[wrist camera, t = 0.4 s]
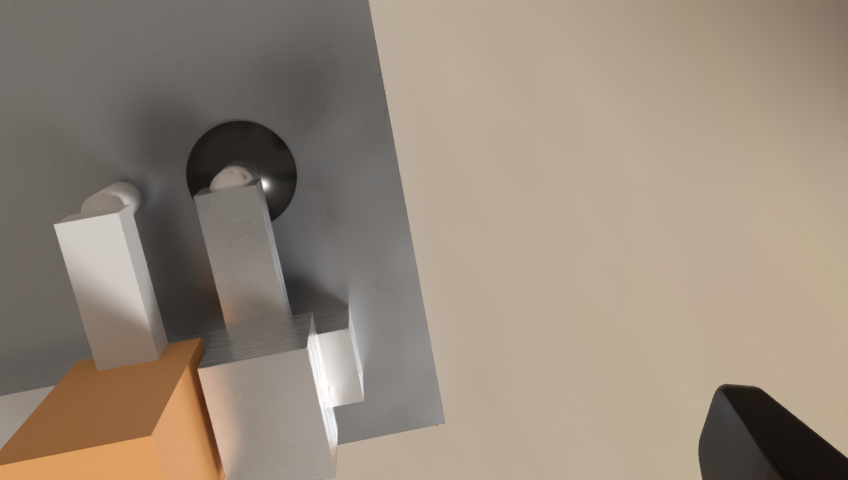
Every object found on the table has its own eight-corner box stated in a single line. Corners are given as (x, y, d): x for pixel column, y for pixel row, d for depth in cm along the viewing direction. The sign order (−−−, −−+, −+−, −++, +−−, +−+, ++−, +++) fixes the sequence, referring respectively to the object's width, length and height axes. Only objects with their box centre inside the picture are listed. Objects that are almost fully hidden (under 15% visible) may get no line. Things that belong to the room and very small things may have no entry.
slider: (241, 422, 22) (193, 585, 15) (131, 443, 22) (36, 618, 15) (178, 170, 20) (92, 232, 13) (58, 192, 20) (-87, 265, 13)
